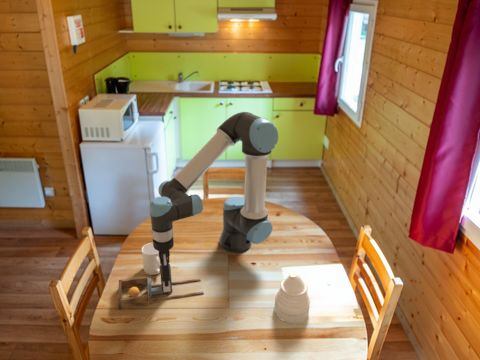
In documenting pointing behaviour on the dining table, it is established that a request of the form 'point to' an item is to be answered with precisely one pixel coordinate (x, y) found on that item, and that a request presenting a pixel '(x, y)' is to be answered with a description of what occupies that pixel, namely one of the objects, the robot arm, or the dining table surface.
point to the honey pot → (292, 299)
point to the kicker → (160, 289)
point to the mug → (150, 259)
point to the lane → (176, 295)
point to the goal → (132, 300)
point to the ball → (134, 292)
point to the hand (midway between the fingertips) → (166, 287)
